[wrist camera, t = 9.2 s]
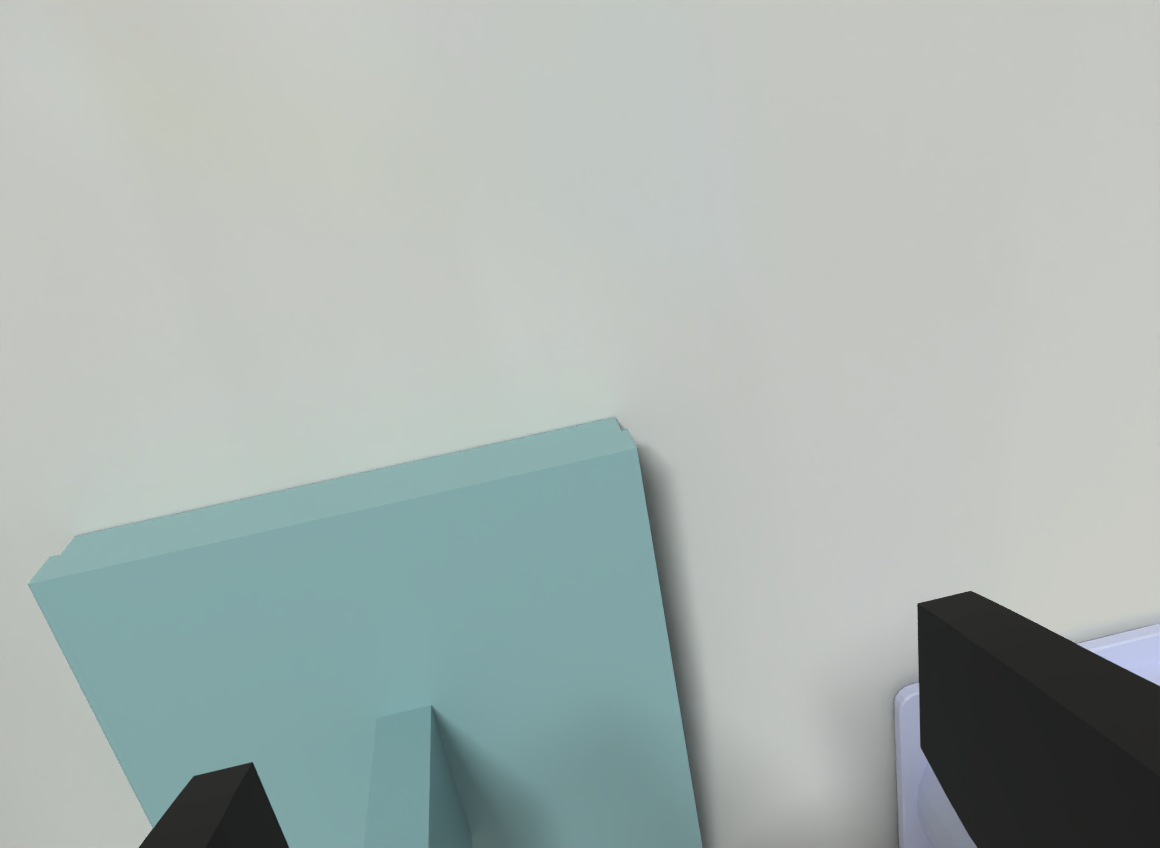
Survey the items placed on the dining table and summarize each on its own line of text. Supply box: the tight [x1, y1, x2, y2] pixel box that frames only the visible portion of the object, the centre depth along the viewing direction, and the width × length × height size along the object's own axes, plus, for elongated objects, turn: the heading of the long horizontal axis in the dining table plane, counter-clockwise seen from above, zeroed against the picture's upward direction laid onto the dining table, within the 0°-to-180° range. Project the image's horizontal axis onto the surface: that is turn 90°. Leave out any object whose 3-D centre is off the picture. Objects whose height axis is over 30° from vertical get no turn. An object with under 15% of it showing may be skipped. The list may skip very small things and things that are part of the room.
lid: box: [28, 417, 703, 848], centre depth 19 cm, size 12×14×6 cm
